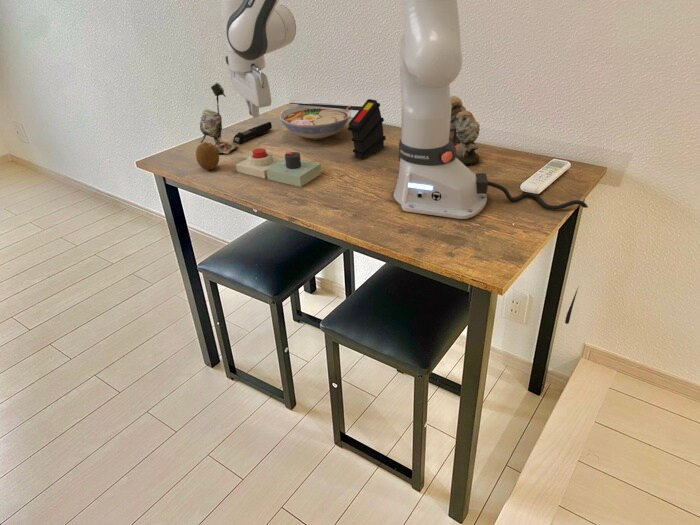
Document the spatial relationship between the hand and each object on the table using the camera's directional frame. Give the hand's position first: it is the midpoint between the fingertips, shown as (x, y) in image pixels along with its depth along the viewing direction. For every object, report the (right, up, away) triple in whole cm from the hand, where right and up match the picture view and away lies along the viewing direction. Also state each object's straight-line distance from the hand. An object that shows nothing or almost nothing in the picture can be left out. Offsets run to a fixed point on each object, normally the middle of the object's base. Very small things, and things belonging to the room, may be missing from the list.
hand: (254, 115), depth 138 cm
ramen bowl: (+15, +2, +29) cm, 33 cm away
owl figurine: (+53, -9, +11) cm, 55 cm away
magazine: (+30, -7, +15) cm, 35 cm away
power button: (0, -10, +6) cm, 11 cm away
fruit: (-14, -13, +9) cm, 21 cm away
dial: (+10, -13, +1) cm, 17 cm away
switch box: (+1, -13, +8) cm, 15 cm away
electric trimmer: (-6, +1, +31) cm, 31 cm away
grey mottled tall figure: (-15, -5, +21) cm, 26 cm away
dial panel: (+10, -16, +3) cm, 19 cm away
